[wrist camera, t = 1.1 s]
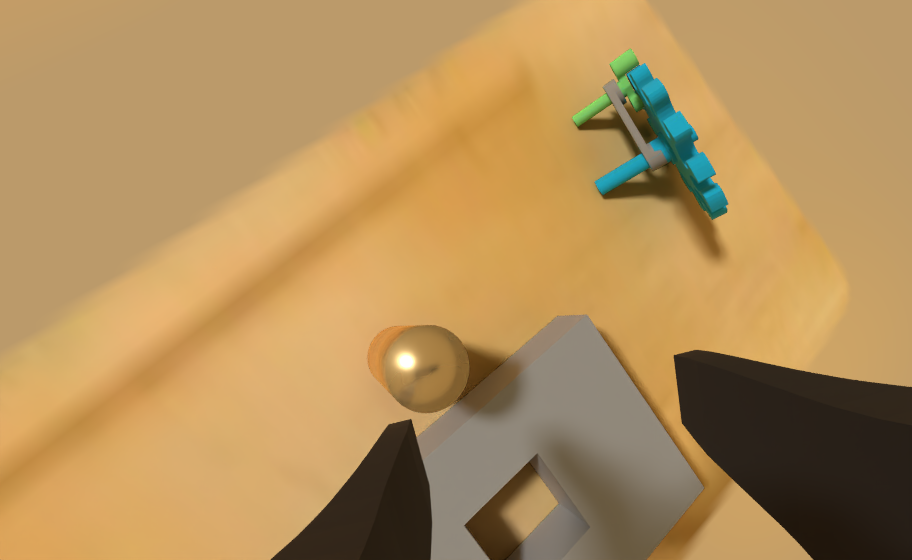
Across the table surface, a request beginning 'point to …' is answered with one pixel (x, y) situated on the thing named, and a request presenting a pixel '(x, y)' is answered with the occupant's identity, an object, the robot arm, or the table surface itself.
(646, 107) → the teal knobby piece
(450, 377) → the brass pin
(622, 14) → the table surface
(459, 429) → the hole plate
